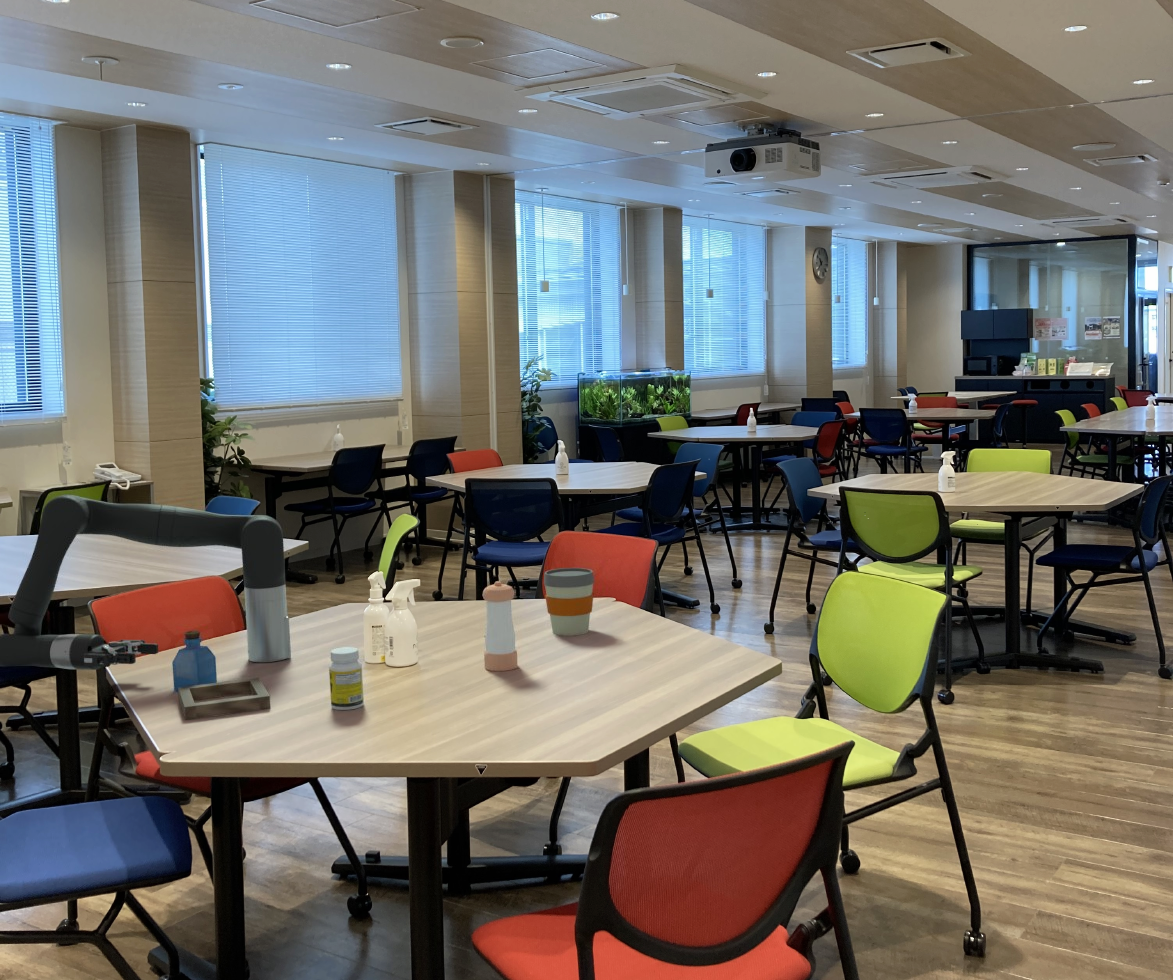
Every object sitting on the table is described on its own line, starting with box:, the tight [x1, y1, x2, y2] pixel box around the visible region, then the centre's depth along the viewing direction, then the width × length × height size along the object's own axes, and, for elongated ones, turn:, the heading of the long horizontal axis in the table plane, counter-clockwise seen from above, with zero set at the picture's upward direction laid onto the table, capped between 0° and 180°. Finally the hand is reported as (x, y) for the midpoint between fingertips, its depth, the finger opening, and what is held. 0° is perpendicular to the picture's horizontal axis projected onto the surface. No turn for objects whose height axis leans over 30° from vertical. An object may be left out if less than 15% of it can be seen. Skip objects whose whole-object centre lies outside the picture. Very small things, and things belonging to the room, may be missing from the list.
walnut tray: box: [177, 677, 271, 721], centre depth 237 cm, size 16×16×2 cm
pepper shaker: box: [482, 580, 519, 672], centre depth 259 cm, size 7×7×19 cm
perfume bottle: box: [171, 630, 218, 692], centre depth 249 cm, size 6×6×12 cm
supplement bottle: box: [328, 646, 364, 711], centre depth 232 cm, size 6×6×11 cm
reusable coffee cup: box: [543, 567, 595, 636], centre depth 292 cm, size 13×13×15 cm
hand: (146, 653), depth 251 cm, fingers open, 8 cm apart
